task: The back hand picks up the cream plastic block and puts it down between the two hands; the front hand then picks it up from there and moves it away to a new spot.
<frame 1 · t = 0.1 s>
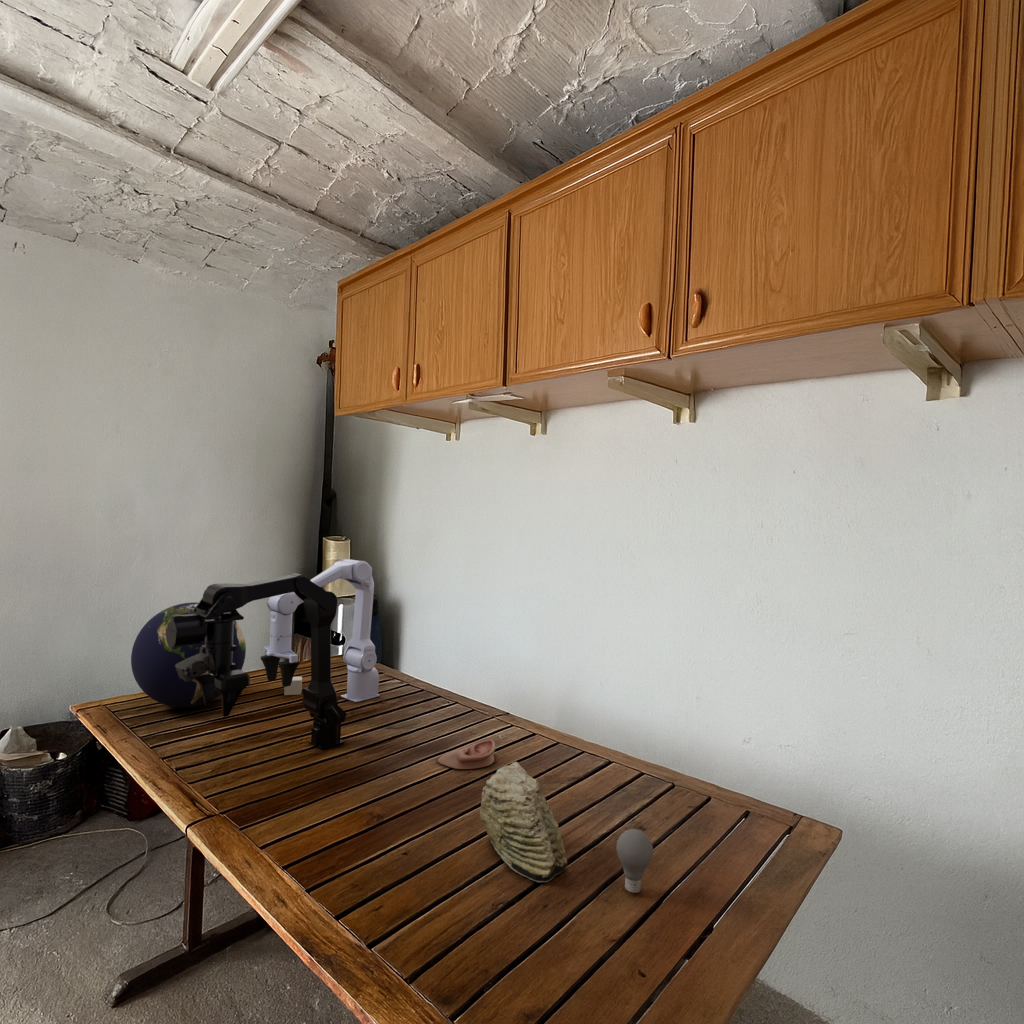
front hand: (216, 710, 141), 15 cm above the table, tool pointing down, fingers open, 9 cm apart
back hand: (279, 683, 178), 10 cm above the table, tool pointing down, fingers open, 7 cm apart
block: (293, 692, 202), on the table
globe: (188, 705, 186), on the table
light bulb: (632, 891, 106), on the table
anatomical model: (466, 761, 155), on the table
fossil: (519, 856, 115), on the table
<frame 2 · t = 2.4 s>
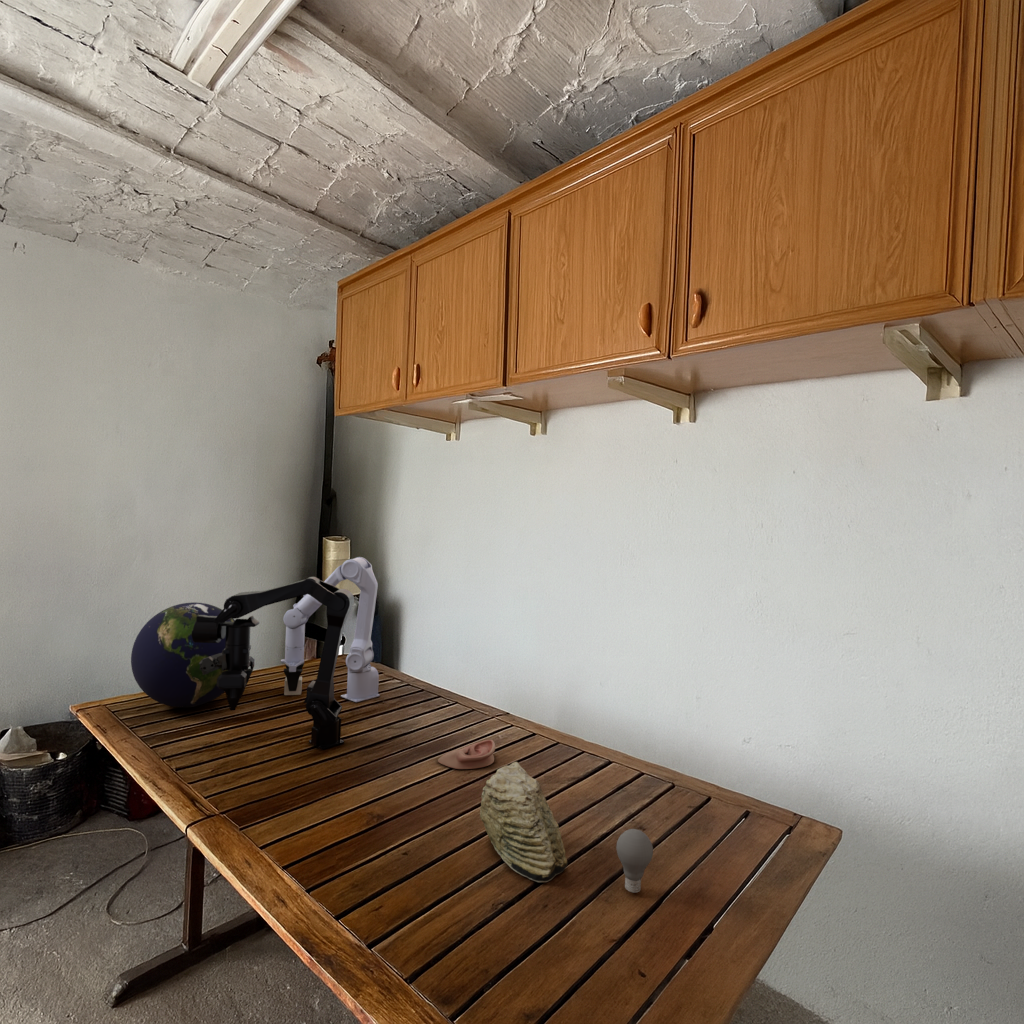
front hand: (235, 704, 160), 10 cm above the table, tool pointing down, fingers open, 9 cm apart
back hand: (293, 688, 202), 1 cm above the table, tool pointing down, fingers closed on block, 4 cm apart
block: (293, 692, 202), on the table, touching back hand
everything else where it was.
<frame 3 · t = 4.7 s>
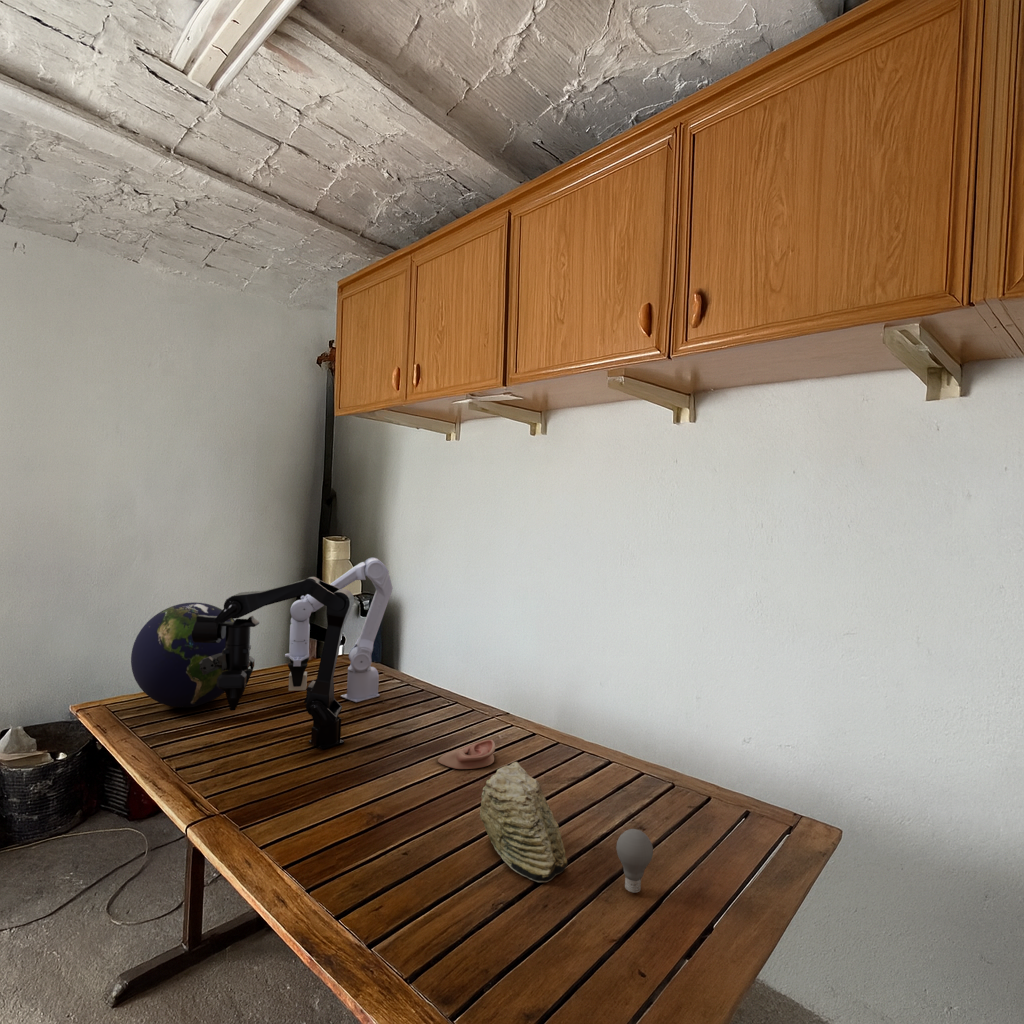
front hand: (235, 704, 160), 10 cm above the table, tool pointing down, fingers open, 9 cm apart
back hand: (297, 683, 194), 5 cm above the table, tool pointing down, fingers closed on block, 4 cm apart
block: (297, 688, 194), point 4 cm above the table, touching back hand
everything else where it was.
when the back hand's fingers open (2 cm above the table, at t = 7.0 s): block stays where it is, on the table.
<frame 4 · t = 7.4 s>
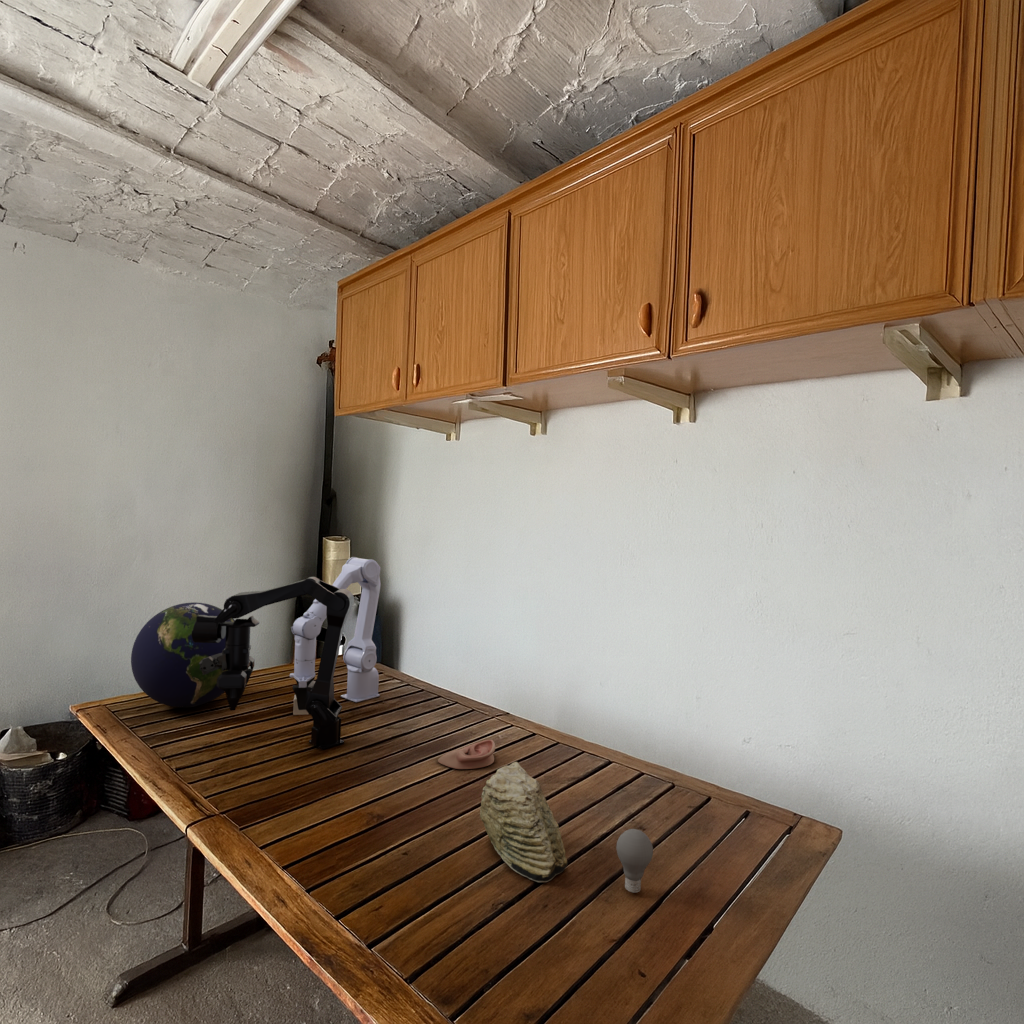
front hand: (235, 704, 160), 10 cm above the table, tool pointing down, fingers open, 9 cm apart
back hand: (303, 705, 184), 2 cm above the table, tool pointing down, fingers open, 7 cm apart
block: (302, 712, 184), on the table
everything else where it was.
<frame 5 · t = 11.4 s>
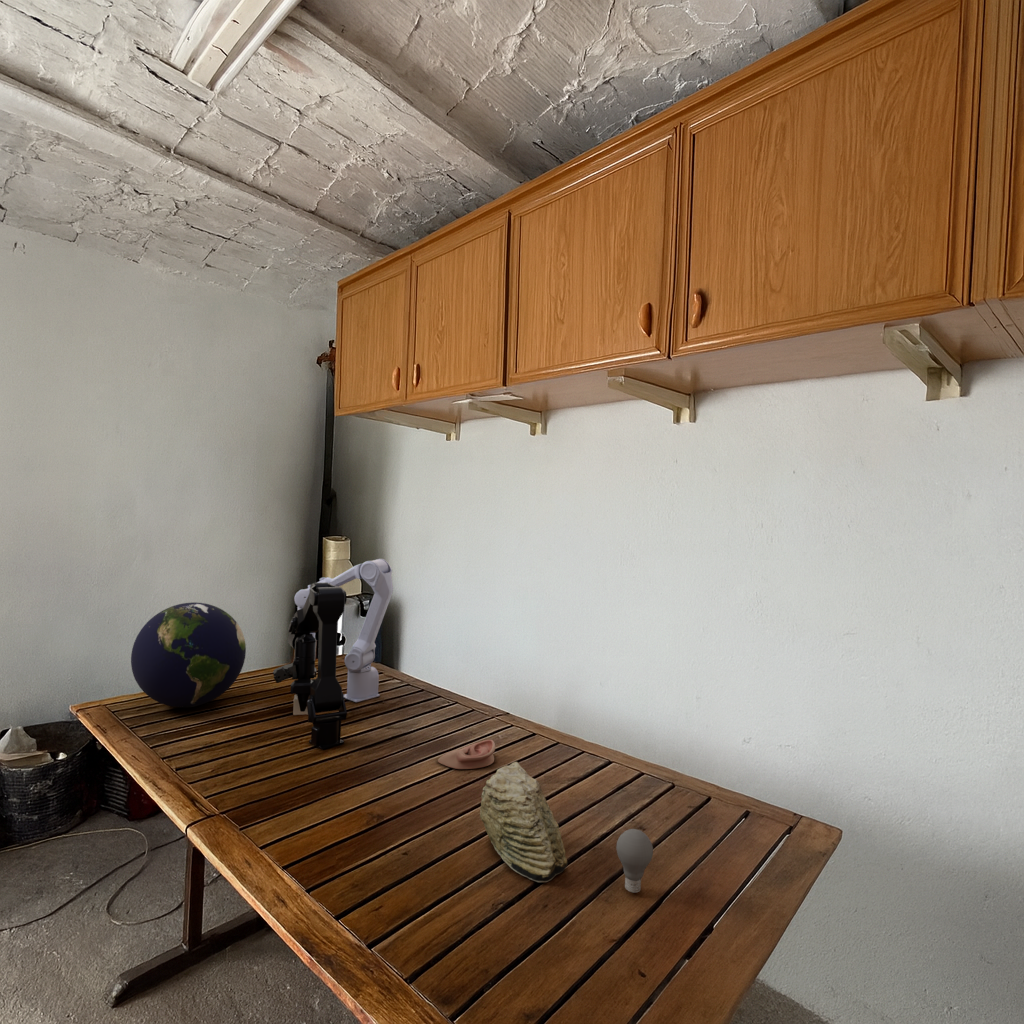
front hand: (303, 708, 184), 1 cm above the table, tool pointing down, fingers closed on block, 4 cm apart
back hand: (304, 668, 204), 8 cm above the table, tool pointing down, fingers open, 7 cm apart
block: (302, 712, 184), on the table, touching front hand
everything else where it was.
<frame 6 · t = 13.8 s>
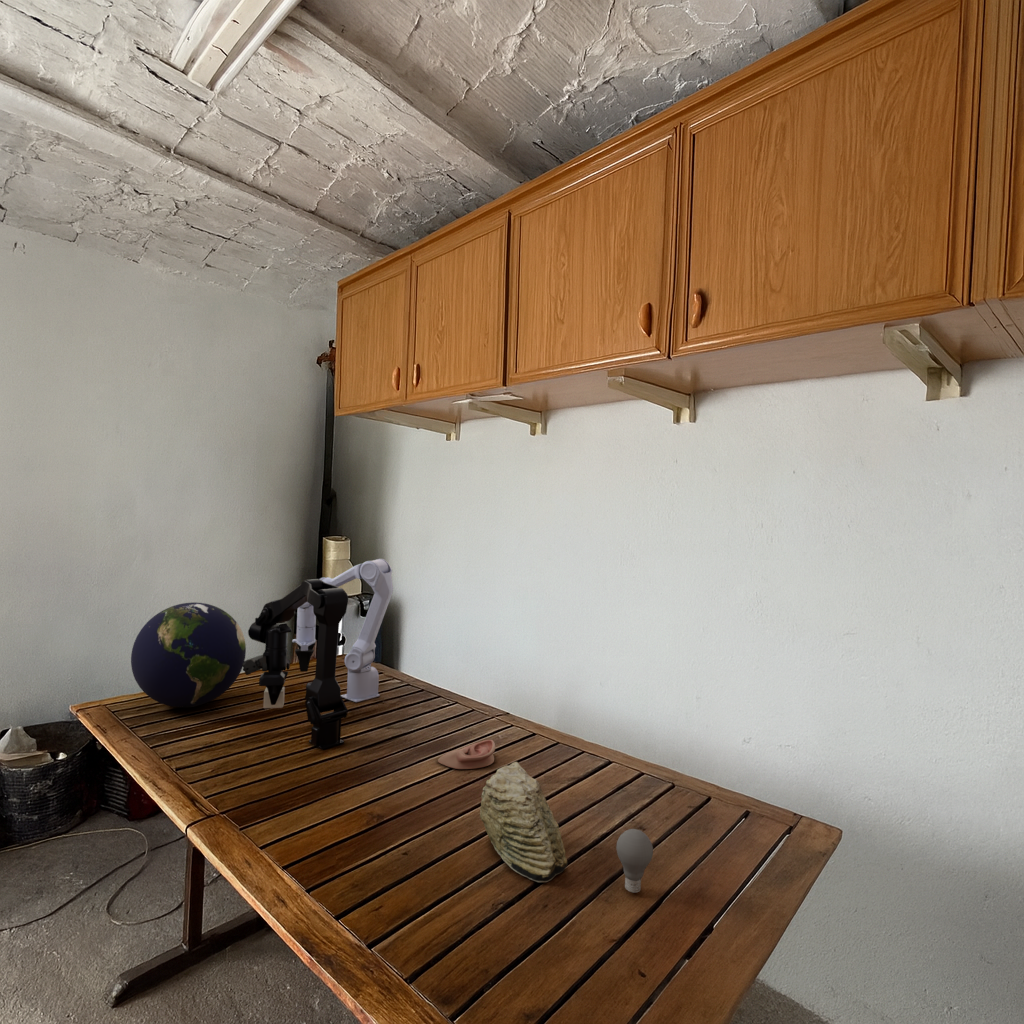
front hand: (274, 701, 178), 5 cm above the table, tool pointing down, fingers closed on block, 4 cm apart
back hand: (304, 668, 204), 8 cm above the table, tool pointing down, fingers open, 7 cm apart
block: (273, 705, 178), point 4 cm above the table, touching front hand
everything else where it was.
when the front hand's fingers open (2 cm above the table, at t = 16.2 s): block stays where it is, on the table.
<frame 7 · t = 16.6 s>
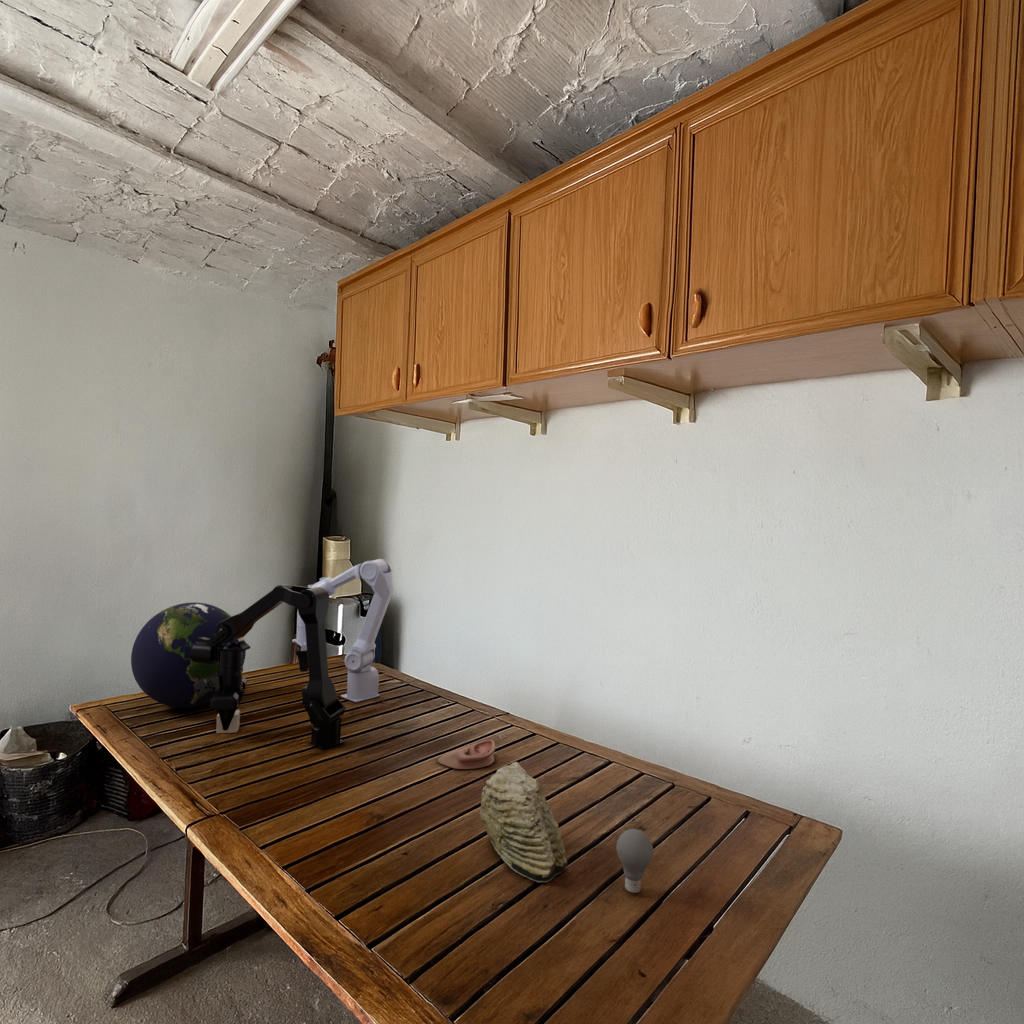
front hand: (228, 724, 168), 2 cm above the table, tool pointing down, fingers open, 9 cm apart
back hand: (304, 668, 204), 8 cm above the table, tool pointing down, fingers open, 7 cm apart
block: (228, 730, 168), on the table
everything else where it was.
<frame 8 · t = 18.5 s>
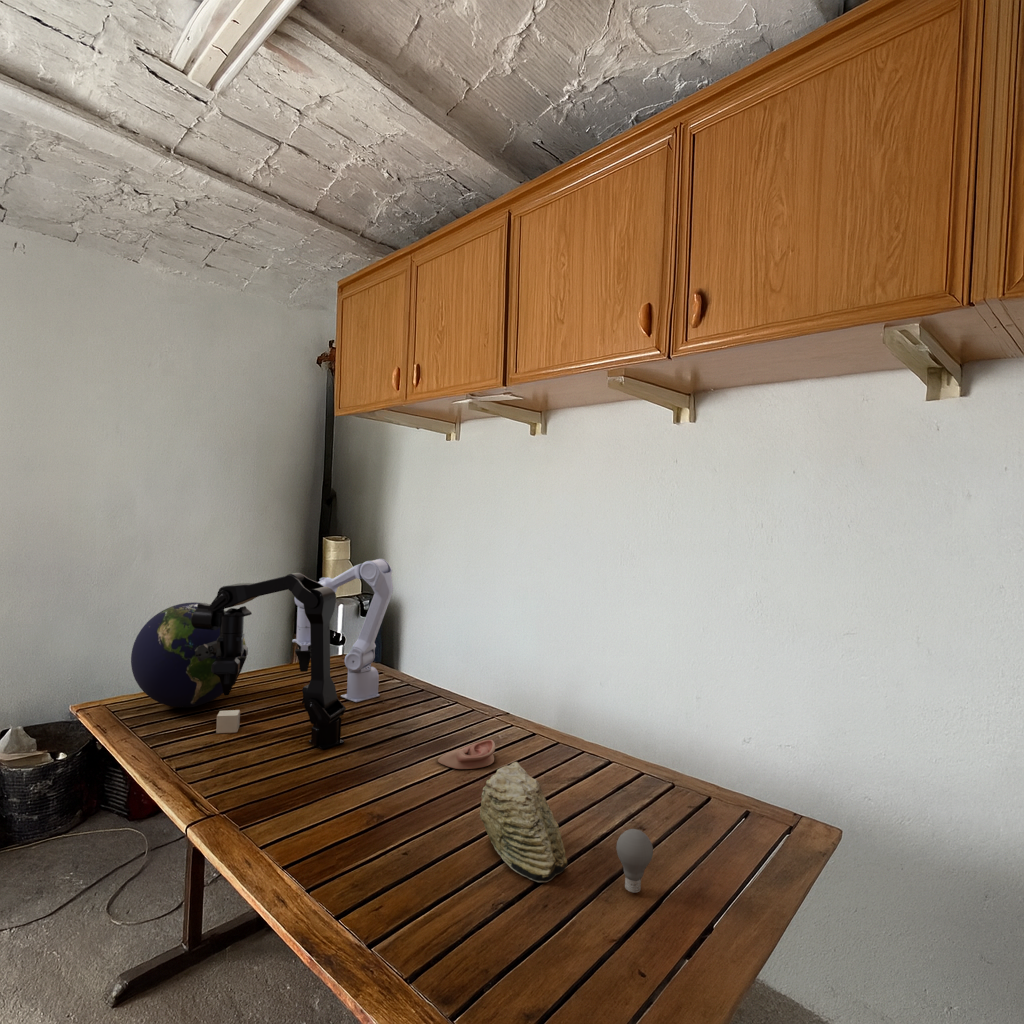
front hand: (229, 690, 168), 11 cm above the table, tool pointing down, fingers open, 9 cm apart
back hand: (304, 668, 204), 8 cm above the table, tool pointing down, fingers open, 7 cm apart
nothing on the table moved.
at the end: block inside the target area (0.0 cm from its centre), on the table; block tilted 0°; the two hands never held the block at the same time; the front hand is holding nothing; the back hand is holding nothing; block at rest at the end (0.0 cm/s) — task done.
